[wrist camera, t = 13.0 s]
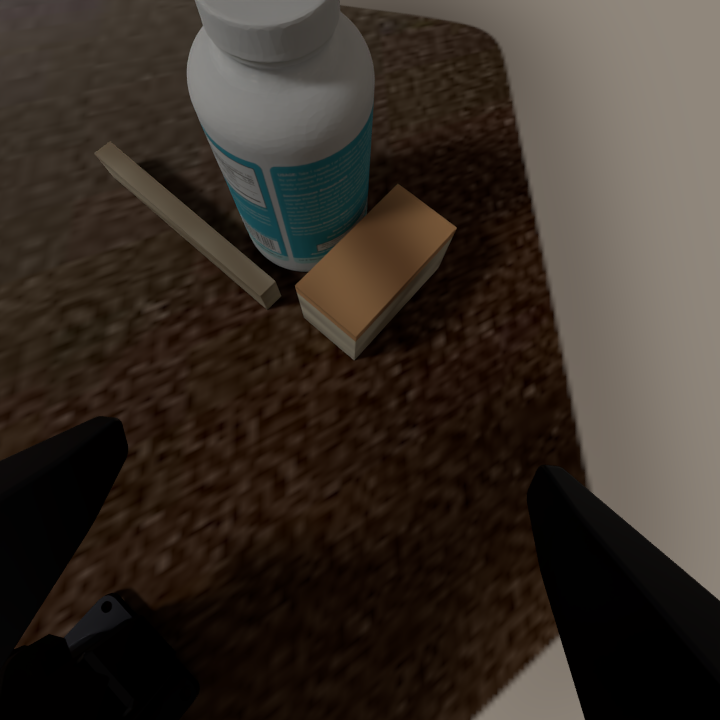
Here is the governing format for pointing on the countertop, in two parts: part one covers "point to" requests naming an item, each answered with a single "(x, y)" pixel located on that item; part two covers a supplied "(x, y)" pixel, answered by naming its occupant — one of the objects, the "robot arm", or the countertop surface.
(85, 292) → the countertop surface
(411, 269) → the block
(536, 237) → the countertop surface
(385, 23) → the countertop surface
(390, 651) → the countertop surface
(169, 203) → the rail
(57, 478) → the robot arm
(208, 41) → the pill bottle
